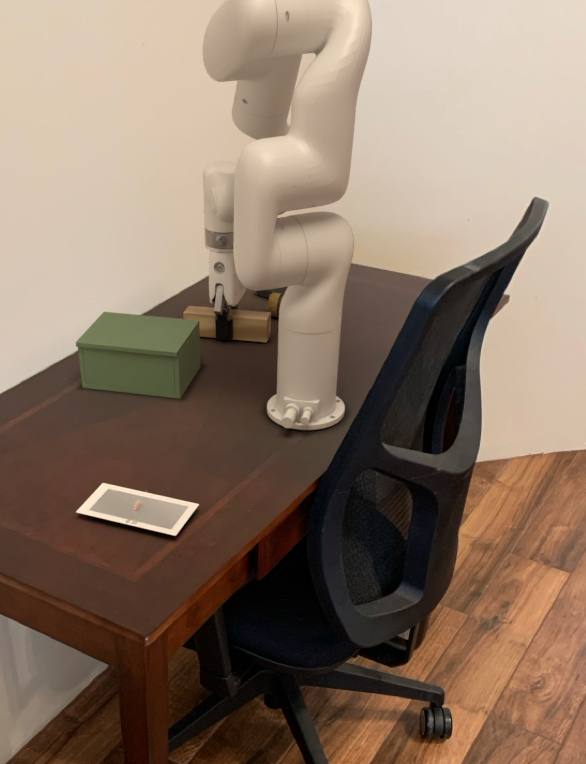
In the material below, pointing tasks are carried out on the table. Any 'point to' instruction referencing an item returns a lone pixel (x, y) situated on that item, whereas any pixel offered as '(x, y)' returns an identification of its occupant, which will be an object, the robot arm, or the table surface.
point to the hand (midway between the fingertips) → (227, 333)
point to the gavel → (274, 304)
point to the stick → (244, 323)
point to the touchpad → (138, 509)
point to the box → (141, 370)
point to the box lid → (138, 334)
